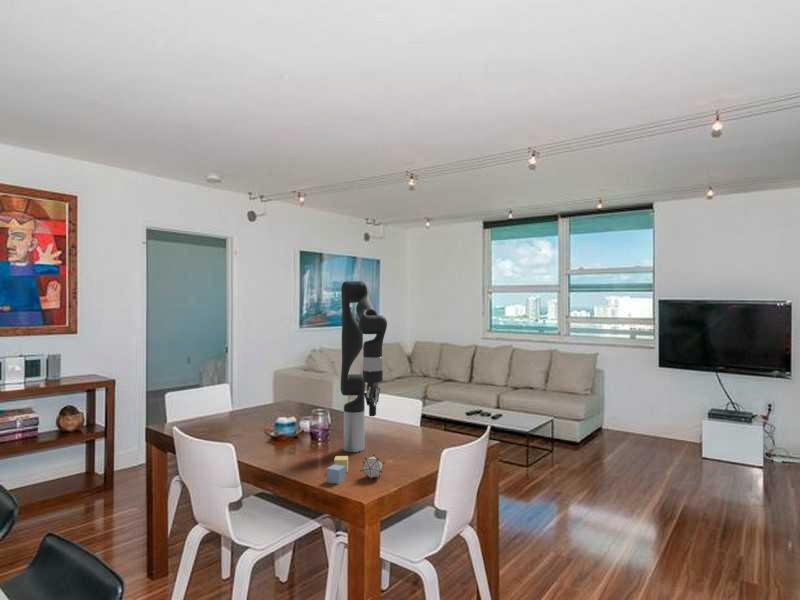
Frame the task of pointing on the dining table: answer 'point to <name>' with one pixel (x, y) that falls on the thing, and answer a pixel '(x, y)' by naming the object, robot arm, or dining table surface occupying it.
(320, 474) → the dining table surface
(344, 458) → the ochre block
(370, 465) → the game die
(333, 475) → the slate block
